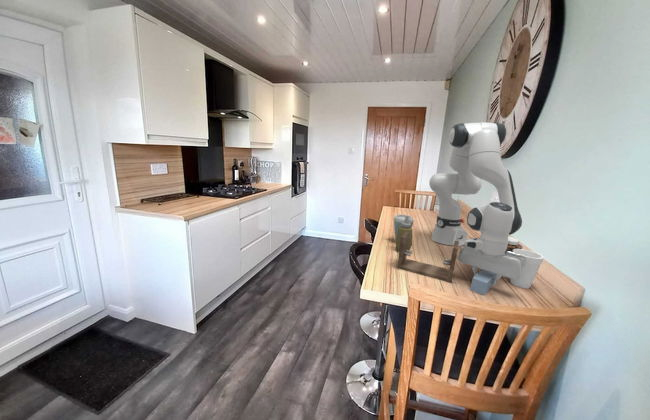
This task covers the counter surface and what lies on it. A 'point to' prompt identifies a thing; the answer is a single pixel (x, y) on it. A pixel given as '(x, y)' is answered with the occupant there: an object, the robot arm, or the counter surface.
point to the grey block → (482, 282)
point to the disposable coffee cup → (398, 220)
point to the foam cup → (528, 268)
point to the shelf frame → (423, 267)
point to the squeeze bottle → (404, 227)
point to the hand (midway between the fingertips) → (484, 280)
